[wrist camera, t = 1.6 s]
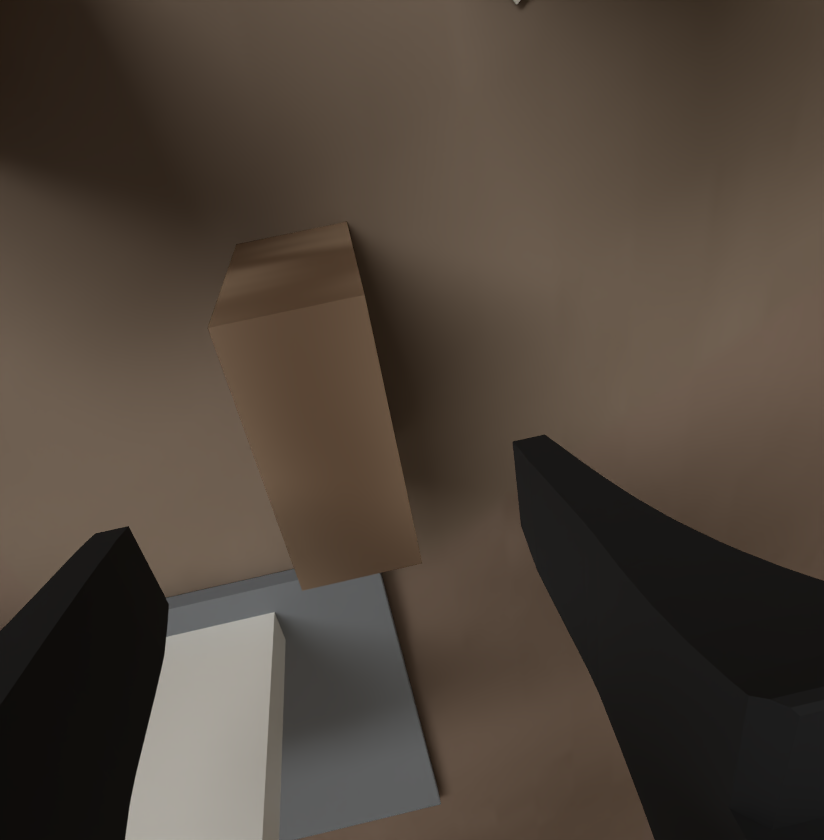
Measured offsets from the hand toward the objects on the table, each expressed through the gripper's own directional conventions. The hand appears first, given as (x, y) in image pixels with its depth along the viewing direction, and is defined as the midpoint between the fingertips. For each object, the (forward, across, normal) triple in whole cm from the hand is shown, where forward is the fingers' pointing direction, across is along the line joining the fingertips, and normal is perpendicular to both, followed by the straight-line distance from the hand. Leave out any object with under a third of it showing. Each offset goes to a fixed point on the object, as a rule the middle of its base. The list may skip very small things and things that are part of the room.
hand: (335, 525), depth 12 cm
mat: (+8, +8, +16) cm, 20 cm away
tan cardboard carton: (+8, 0, 0) cm, 8 cm away
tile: (+8, +8, +10) cm, 15 cm away
